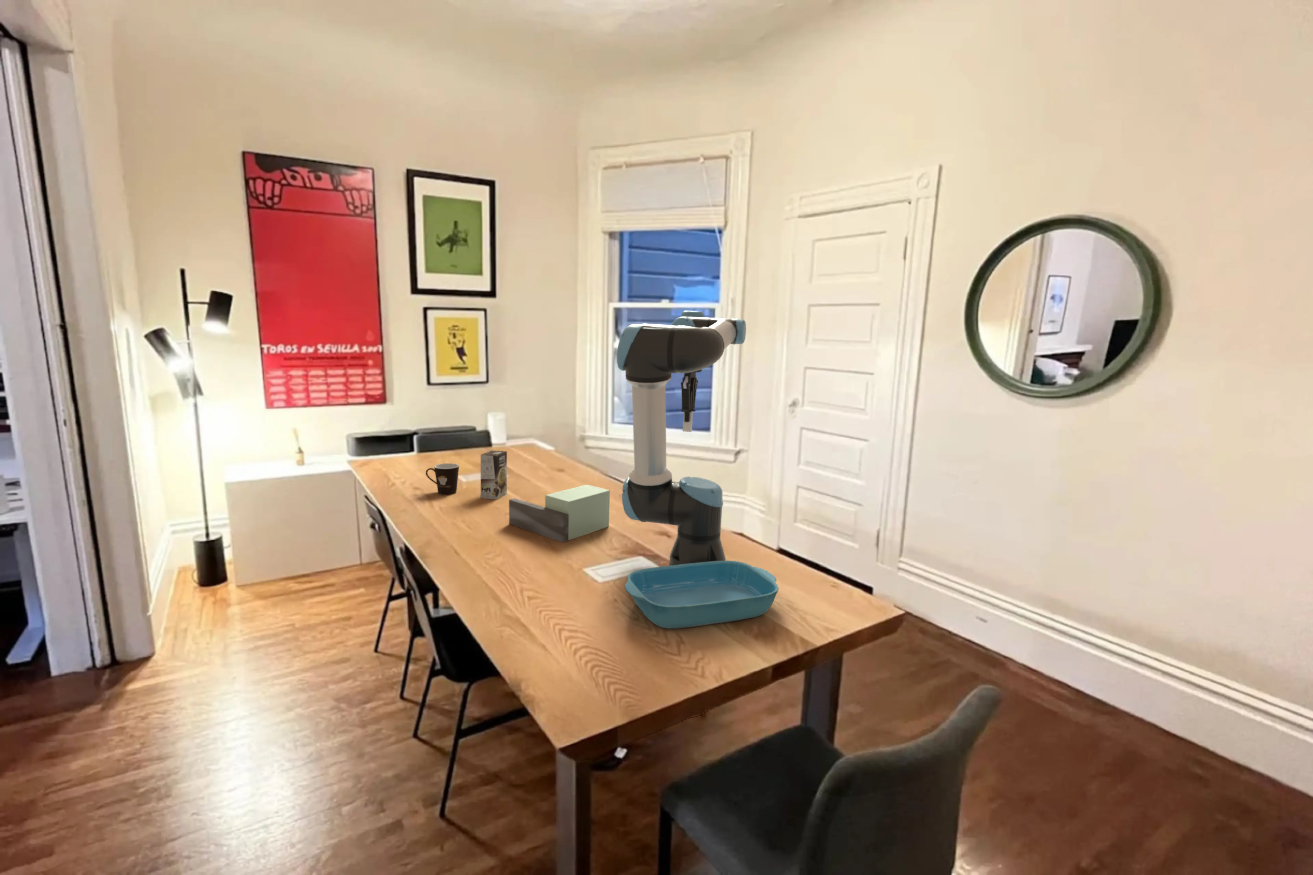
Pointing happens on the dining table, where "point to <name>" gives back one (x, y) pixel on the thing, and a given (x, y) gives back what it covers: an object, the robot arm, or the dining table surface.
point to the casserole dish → (702, 593)
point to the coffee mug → (445, 478)
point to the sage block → (582, 508)
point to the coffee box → (493, 474)
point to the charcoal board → (539, 519)
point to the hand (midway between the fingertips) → (687, 431)
